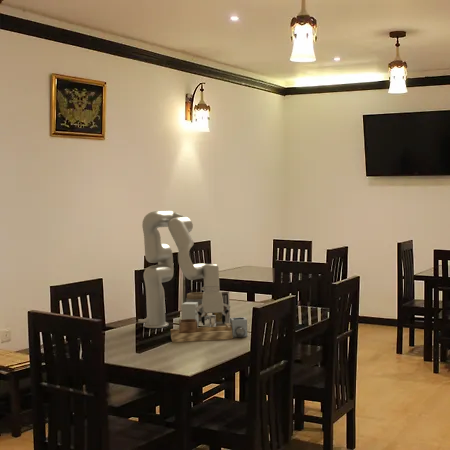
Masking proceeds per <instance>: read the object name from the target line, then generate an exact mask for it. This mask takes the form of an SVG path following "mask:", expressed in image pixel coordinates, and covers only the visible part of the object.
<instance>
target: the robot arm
mask: <svg viewBox="0 0 450 450" xmlns="http://www.w3.org/2000/svg"><path fill="white" fill-rule="evenodd" d="M141 226H142V232H143V241H144V243H143V244H144V255H145V260H146V261H147V262H148V263H149V264H150V263H153V264H155V263H157V264H155V265H150V266H148V267H146V268H145V269H144V272H143V280H144V286H145V296H146V297H145V298H146V303H145V305H146V318H144V319H143V318H140V319H139V318H138V320H137V323H138V324H144V325H143V326H144V328H147V329H162V328H166V327H169V322H167V321H166V301H165V300H166V297H165V289H164V286H163V284H162V283H166V282H167V283H168V282H169V281H171V280H172V279H173V277H174V270H175V269H174V257H173V254H174V253H173V250H172V248H171V246H170V245H169V244H167V243H162V242H161V240H162V239H161V237H162V236H161V234H160V232H159V230H158V228H168V230H169V233H170V235H171V237H172V239H173V241H174V243H175V246H176V247H177V251H178V252H177V262H178V265H179V268H180V270H181V272H182V274H183V276H184V277H185V278H186V279H187V280H190V281H194V280H200V279H203V286H202V287H200V288H201V289H200V290H201V291H203V298H202V304H201V305H200V306H198V307H196V308H195V310H196V311H197V313H198V314H199V315H200V316H201V321H200V322H201V324H202V325H203V326H205V325H206V323H205V321H206V320H205V317H204V315H205V313H207V314H212V313H218V312H221V313H222V323H223V325H225V324H224V322H225V315H226V314H227V313H228V311H229V309H230V310H231V305H230V306H229V305H227V304H225V303H223V298H222V293H221V292H222V291H221V290H220V288H221V287H220V273H219V272H220V270H219V268H220V267H219V265H218V264H217V263H203V262H202V263H201V262H200V263H193V262H192V259H191V258H190V250H191V248H192V247H193V246H194V245H195V244H194V243H195V241H194V240H193V238H192V235H191V234H190V233H191V232H192V230H193V226H194V224H193V221H192V220H191V219H190V218H189V216H188V217H187V216H186V215H183V214H181V213H178V212H176V211H173V210H156V211H150V212H149V213H147V214H146V215H145V216H144V218H143V219H142V225H141ZM223 306H225V307H227V309H226V310H225V311H223V309H224V308H223ZM200 308H202V309H203V312H202V313H201V312H199V309H200Z"/></svg>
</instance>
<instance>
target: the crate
mask: <svg viewBox="0 0 450 450" xmlns="http://www.w3.org/2000/svg"><path fill="white" fill-rule="evenodd" d="M198 328H199V326H197V320H196V319H182V318H181V319H178V329H179V333H196V332H198Z"/></svg>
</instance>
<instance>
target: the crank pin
mask: <svg viewBox="0 0 450 450" xmlns="http://www.w3.org/2000/svg"><path fill="white" fill-rule="evenodd" d="M208 315H209V314H208ZM208 320H209V321H208V322H209V327H217V324H216V315H212V314H210V315H209V319H208Z"/></svg>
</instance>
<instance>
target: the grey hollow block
mask: <svg viewBox="0 0 450 450" xmlns="http://www.w3.org/2000/svg"><path fill="white" fill-rule="evenodd" d="M229 324H230V325H231V327H232V336H233V338H241V339H242V338H245V337H246V338H247V337H248V319H247V318H246V317H245V316H243V317H242V316H241V317H230V323H229Z"/></svg>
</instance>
